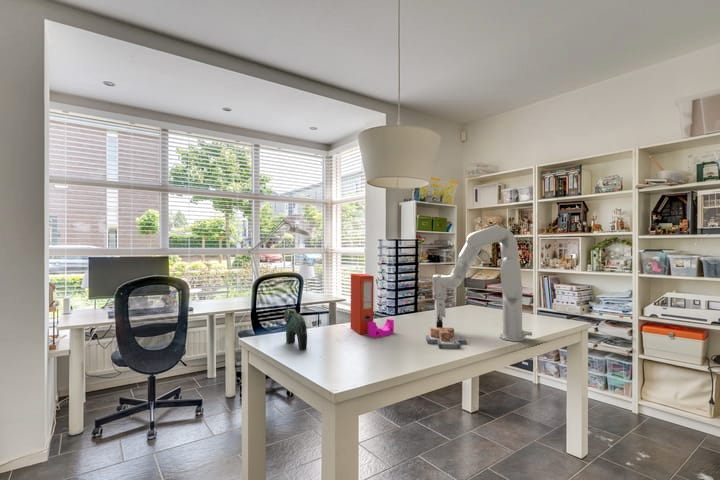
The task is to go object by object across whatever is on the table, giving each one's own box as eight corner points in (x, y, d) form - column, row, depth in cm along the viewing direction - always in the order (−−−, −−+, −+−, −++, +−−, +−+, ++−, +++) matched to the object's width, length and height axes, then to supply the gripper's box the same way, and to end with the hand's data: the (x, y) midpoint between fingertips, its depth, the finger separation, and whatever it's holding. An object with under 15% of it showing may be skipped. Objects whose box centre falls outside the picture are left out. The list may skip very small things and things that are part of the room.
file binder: (363, 327, 222) (363, 273, 222) (373, 333, 205) (373, 275, 206) (350, 328, 219) (350, 273, 219) (360, 334, 203) (359, 276, 203)
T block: (452, 335, 202) (452, 327, 202) (456, 341, 190) (456, 333, 190) (430, 334, 203) (430, 327, 203) (433, 340, 191) (433, 332, 191)
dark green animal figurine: (282, 341, 189) (282, 302, 189) (294, 340, 193) (294, 301, 193) (298, 351, 172) (298, 308, 172) (311, 349, 176) (311, 307, 176)
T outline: (462, 339, 192) (462, 335, 192) (470, 348, 175) (470, 344, 176) (425, 339, 193) (425, 335, 193) (429, 348, 177) (429, 344, 177)
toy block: (374, 338, 197) (374, 323, 197) (367, 335, 202) (367, 321, 202) (396, 334, 205) (396, 320, 205) (389, 331, 210) (389, 318, 210)
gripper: (448, 298, 202) (448, 332, 202) (444, 294, 217) (444, 326, 217) (434, 298, 203) (434, 331, 203) (431, 294, 218) (431, 325, 217)
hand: (439, 328), depth 210 cm, fingers closed
